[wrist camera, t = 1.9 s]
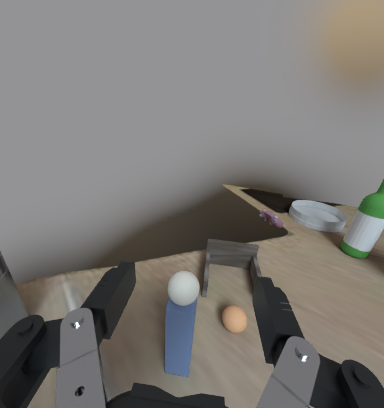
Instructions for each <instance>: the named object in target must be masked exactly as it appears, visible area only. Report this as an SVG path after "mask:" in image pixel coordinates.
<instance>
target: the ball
mask: <svg viewBox="0 0 384 408" xmlns="http://www.w3.org/2000/svg"><path fill="white" fill-rule="evenodd" d="M222 321H223V324H224V326H225V327H226V329H227V330H229V331H230V332H232V333H240V332H242V331H243V330H244V329H245V327H246V325H247V316H246V313H245V312H244V310H243V309H242V308H241V307H239V306H237V305H229V306H228V307H226V308H225V309H224V311H223V314H222Z"/></svg>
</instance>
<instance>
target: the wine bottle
mask: <svg viewBox="0 0 384 408" xmlns="http://www.w3.org/2000/svg"><path fill="white" fill-rule="evenodd" d="M383 229H384V180H383V182H382V184H381V185H380V188H379V189H378V191H377V192H376V193H373V194H370V195H368V196H366V197H365V198H364V199H363V201H362V202H361V204H360V206H359V208H358V210H357V212H356V214H355V216H354V218H353V220H352V222H351V224H350V226H349V228H348V230H347V232H346V234H345V236H344V238H343V241H342V243H341V249H342V250H343V251H344V252H345V253H346V254H348V255H350V256H352V257H356V258H366V257H367V256H368V255H369V253H370V251H371V250H372V248H373V246H374V245H375V243H376V241H377V239H378V238H379V236H380V234H381V232H382V231H383Z"/></svg>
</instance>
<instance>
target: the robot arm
mask: <svg viewBox="0 0 384 408" xmlns="http://www.w3.org/2000/svg"><path fill="white" fill-rule="evenodd" d="M135 283H136V275H135V263H134V262H133V261H124V260H123V261H121V262H120V264H119V265H118V267H117V268H111V269H110V270H109V271H107V272H106V273H105V274H104V276H103V277H102V278H101V281H99V283H98V284H97V286H96V287H95V288H94V290H93V291H92V292H91V294H90V295H89V296H88V298H87V299H86V301H85V302H84V303H83V305H82V306H81V307H80V308H79V309H76V310H73V311H72V312H70V313H69V314H67V315H66V316H65V317H64V318H63V319H58V320H52V321H46V322H44V319H43V317H41V316H39V315H31V316H29V314H28V312H27V310H26V308H25V305H24V303H23V301H22V298H21V296H20V294H19V292H18V289H17V287H16V285H15V283H14V280H13V278H12V276H11V274H10V272H9V269H8V267H7V265H6V263H5V261H4V259H3V256H2V254H1V252H0V408H27V406H28V405H29V403H30V401H31V400H32V398H33V397H34V395H35V393H36V392H37V390H38V388H39V387H40V385H41V383H42V382H43V380H44V379H45V377H46V375H47V374H48V372H49V370H50V369H51V368H54V367H58V368H57V374H56V408H228V407H226V406H225V401H224V397H221V396H214V395H208V394H202V393H201V394H196V395H190V396H185V397H179V398H178V397H175V396H173V395H171V394H169V393H167V392H165V391H164V390H162V389H160V388H158V387H156V386H152V385H146V384H139V383H134V384H133V387H132V390H131V391H127V392H125V393H122V394H120V395H118V396H116V397H114V398H113V399H111V400H110V401H109V402H108V397H107V392H106V386H105V380H104V374H103V368H102V361H101V355H100V348H99V345H100V343H101V341H102V339H110V338H111V336H112V333H113V331H114V329H115V327H116V325H117V323H118V321H119V319H120V317H121V315H122V313H123V310H124V308H125V306H126V304H127V302H128V300H129V298H130V296H131V294H132V292H133V290H134V287H135ZM253 307H254V311H255V316H256V320H257V325H258V329H259V333H260V338H261V342H262V347H263V351H264V356H265V360H266V363H269V364H273V365H274V370H273V373H272V374H271V376H270V378H269V380H268V382H267V384H266V387H265V389H264V391H263V393H262V395H261V398H260V400H259V402H258V404H257V406H256V408H310V407H309V405H311V406H312V407H314V408H384V388H383V386H382V385H381V383H380V382H379V380H378V379H377V377H376V376H375V375H374V374H373V373H372V372H371V371H370V370H369V369H368V368H366V367H365V366H364V365H362V364H360V363H359V362H356V361H354V360H345V361H343V363H342V364H339V363H337V362H335V361H333V360H330V359H328V358H326V357H324V356H322V355H320V354H319V353H318V352H317V351H316V349H315V348H314V347H313V346H312V345H311V344H310V343H309V342H308V341H307V340H305V338H304V336H303V334H302V331H301V329H300V327H299V324H298V322H297V320H296V317H295V315H294V313H293V311H292V308H291V306H290V305H289V301H288V299H287V297H286V295H285V293H284V292H283V291H282V290H281V289H280V288H278V287H274V285H273V282H272V280H271V278H268V277H260V276H258V277H257V279H256V283H255V287H254V291H253ZM59 366H60V367H59Z"/></svg>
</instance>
